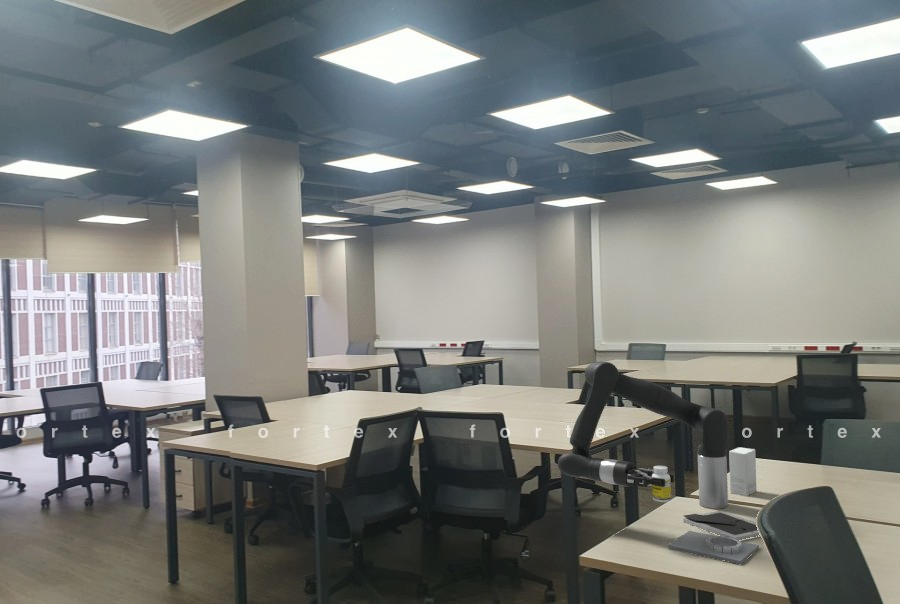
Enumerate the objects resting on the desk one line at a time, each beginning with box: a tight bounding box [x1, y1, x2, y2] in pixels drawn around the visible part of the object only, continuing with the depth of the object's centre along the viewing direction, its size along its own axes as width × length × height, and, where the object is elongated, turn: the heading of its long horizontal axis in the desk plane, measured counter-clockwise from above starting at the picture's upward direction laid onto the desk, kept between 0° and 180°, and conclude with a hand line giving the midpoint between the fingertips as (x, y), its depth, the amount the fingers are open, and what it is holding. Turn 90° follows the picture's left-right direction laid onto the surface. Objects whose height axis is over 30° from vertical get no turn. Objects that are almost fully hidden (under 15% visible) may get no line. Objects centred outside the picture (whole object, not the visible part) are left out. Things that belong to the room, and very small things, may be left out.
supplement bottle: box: [651, 465, 672, 503], centre depth 198 cm, size 5×5×10 cm
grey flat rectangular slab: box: [667, 530, 760, 565], centre depth 187 cm, size 15×20×1 cm
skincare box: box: [728, 446, 757, 497], centre depth 240 cm, size 8×7×16 cm
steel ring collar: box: [706, 535, 742, 553], centre depth 185 cm, size 9×9×2 cm
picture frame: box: [682, 510, 760, 540], centre depth 204 cm, size 16×3×21 cm
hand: (669, 480), depth 196 cm, fingers closed on supplement bottle, 5 cm apart
